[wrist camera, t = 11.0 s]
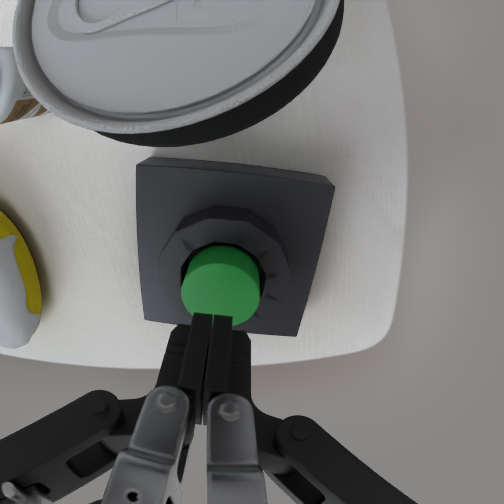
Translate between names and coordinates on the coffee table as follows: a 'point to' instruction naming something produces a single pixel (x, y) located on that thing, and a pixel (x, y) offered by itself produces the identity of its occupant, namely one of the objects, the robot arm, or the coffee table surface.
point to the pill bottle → (15, 91)
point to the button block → (230, 233)
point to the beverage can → (171, 62)
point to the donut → (17, 288)
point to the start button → (222, 284)
